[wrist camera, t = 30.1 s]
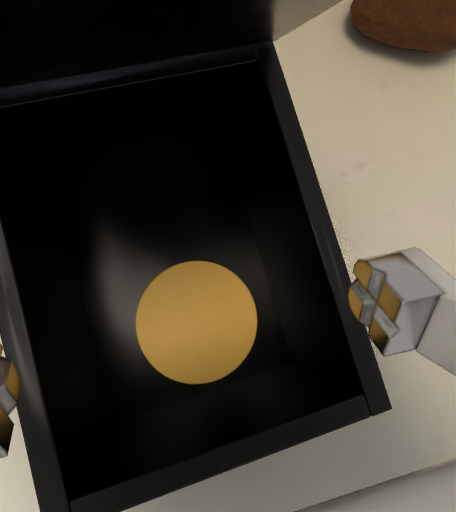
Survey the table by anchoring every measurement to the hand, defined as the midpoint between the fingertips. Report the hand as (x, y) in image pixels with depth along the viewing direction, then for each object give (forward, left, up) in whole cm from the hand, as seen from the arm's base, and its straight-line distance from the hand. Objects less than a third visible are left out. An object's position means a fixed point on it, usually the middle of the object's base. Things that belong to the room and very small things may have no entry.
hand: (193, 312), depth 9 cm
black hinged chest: (+2, 0, -15) cm, 15 cm away
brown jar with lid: (-1, 0, -14) cm, 14 cm away
